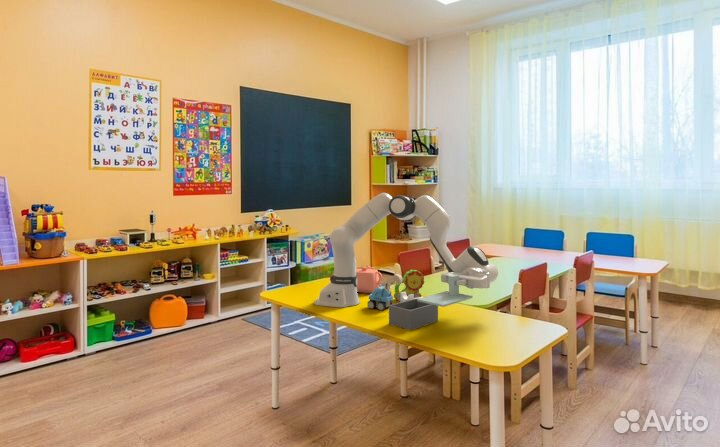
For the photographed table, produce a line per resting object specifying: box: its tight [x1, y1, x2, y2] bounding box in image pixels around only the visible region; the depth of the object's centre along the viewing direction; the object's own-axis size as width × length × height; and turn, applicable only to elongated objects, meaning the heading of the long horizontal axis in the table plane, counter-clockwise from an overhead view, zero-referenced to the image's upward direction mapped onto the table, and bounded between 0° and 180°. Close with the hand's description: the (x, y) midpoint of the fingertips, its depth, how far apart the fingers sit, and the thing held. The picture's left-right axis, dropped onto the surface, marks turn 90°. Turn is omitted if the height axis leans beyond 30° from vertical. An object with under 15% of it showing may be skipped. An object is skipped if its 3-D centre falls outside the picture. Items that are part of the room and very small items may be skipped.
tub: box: [388, 298, 439, 331], centre depth 194 cm, size 12×18×8 cm, turn 132°
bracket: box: [400, 291, 423, 302], centre depth 219 cm, size 13×7×8 cm, turn 122°
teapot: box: [356, 265, 383, 294], centre depth 255 cm, size 20×19×14 cm
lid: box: [417, 275, 473, 308], centre depth 181 cm, size 13×19×9 cm
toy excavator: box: [367, 273, 403, 312], centre depth 216 cm, size 9×17×17 cm, turn 58°
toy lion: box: [393, 269, 425, 302], centre depth 234 cm, size 16×5×15 cm, turn 108°
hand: (452, 282), depth 184 cm, fingers closed on lid
